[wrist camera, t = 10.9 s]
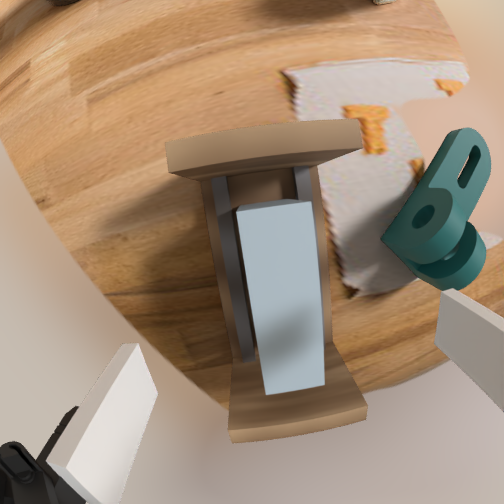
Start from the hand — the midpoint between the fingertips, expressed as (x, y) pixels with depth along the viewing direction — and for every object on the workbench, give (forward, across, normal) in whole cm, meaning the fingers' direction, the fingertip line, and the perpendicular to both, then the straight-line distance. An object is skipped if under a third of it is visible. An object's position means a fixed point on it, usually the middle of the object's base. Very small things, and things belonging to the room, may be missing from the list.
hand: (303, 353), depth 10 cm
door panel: (+14, 0, -1) cm, 14 cm away
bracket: (+16, +20, +4) cm, 26 cm away
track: (+15, 0, -1) cm, 15 cm away
